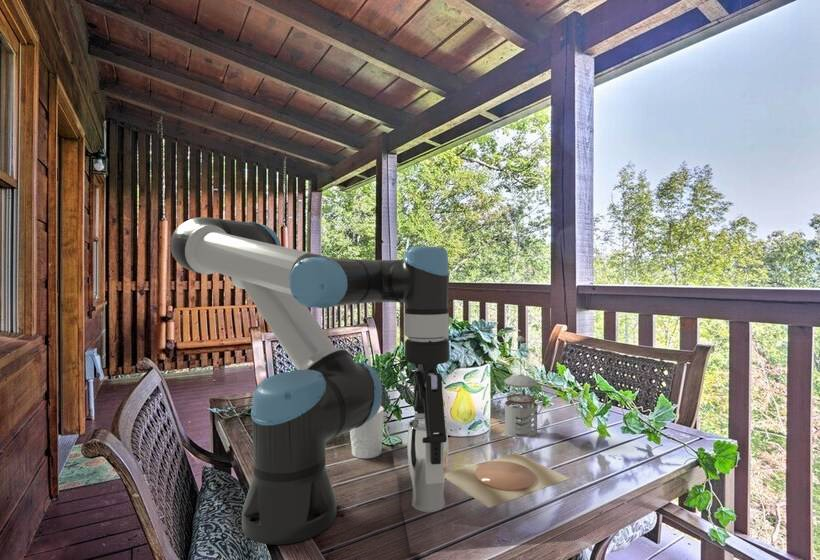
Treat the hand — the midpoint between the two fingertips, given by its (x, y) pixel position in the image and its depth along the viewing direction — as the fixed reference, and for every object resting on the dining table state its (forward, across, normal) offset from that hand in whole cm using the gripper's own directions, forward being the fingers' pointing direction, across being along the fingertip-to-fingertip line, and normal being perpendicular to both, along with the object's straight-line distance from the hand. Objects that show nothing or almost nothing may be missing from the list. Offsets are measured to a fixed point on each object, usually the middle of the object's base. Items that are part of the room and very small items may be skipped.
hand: (427, 464), depth 74 cm
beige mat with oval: (+8, +8, -16) cm, 19 cm away
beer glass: (+8, 0, 0) cm, 8 cm away
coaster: (+7, +8, -16) cm, 19 cm away
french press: (+8, +31, -29) cm, 43 cm away
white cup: (+8, +26, +10) cm, 29 cm away
